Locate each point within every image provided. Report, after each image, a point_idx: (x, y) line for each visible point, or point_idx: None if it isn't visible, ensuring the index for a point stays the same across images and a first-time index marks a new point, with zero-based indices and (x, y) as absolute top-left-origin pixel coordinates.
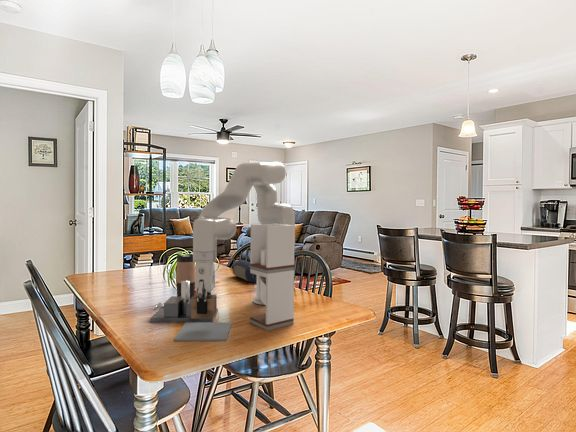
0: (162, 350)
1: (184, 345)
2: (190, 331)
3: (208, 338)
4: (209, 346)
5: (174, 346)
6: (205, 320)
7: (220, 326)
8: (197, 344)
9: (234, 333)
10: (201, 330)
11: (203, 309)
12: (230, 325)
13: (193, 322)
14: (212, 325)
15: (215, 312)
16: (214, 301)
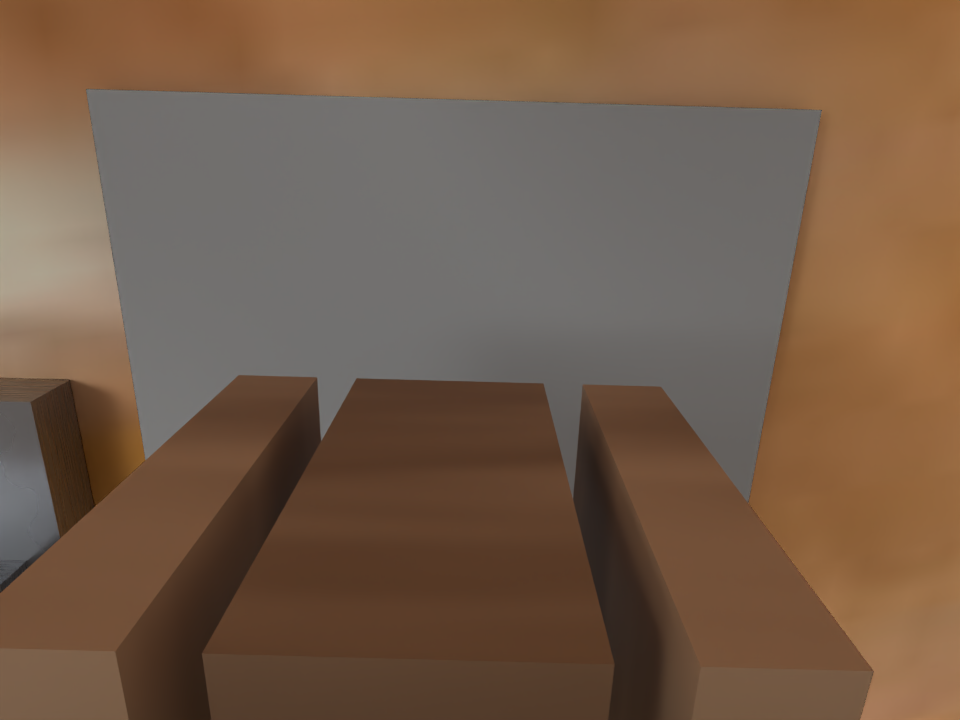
0: (930, 701)
1: (849, 554)
2: None
3: (761, 346)
4: (947, 300)
5: (854, 632)
6: (72, 478)
7: (297, 248)
8: (850, 438)
9: (519, 7)
10: None
11: None
12: (238, 96)
13: None
14: (261, 363)
15: (363, 391)
16: (535, 566)
